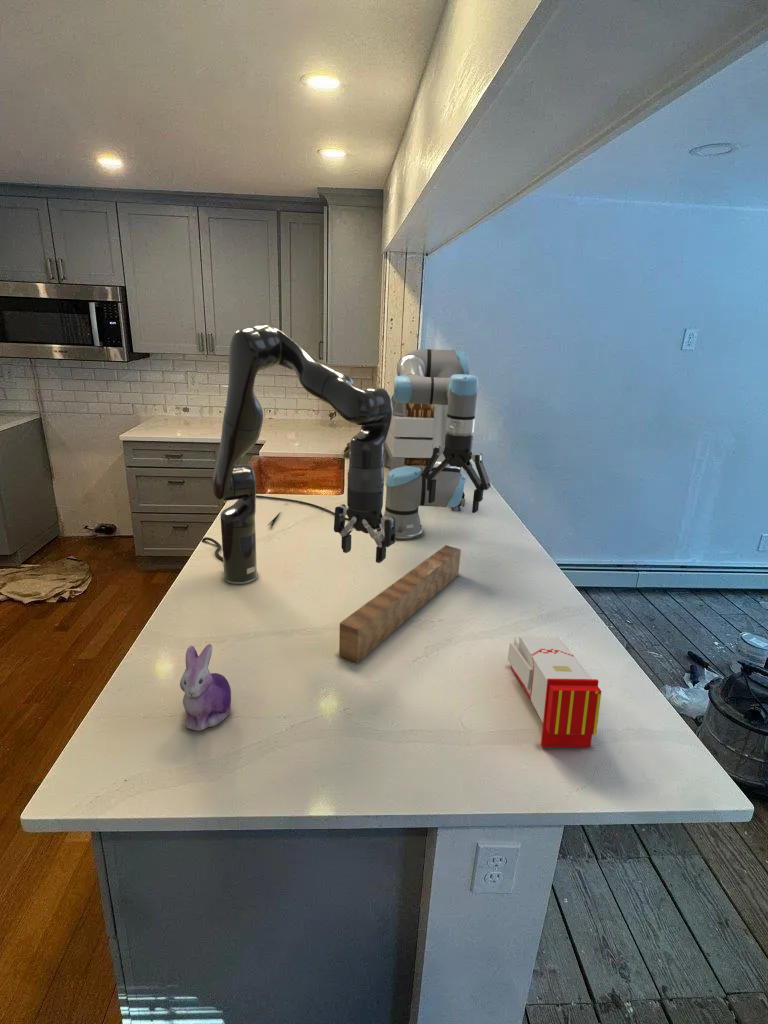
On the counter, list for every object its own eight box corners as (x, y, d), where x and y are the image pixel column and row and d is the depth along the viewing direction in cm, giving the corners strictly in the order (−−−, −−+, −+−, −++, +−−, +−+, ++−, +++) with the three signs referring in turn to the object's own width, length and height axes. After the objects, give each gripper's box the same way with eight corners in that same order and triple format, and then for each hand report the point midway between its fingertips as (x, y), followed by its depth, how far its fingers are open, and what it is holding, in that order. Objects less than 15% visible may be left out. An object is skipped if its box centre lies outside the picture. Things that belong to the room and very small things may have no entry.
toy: (555, 619, 129) (611, 687, 100) (550, 674, 132) (602, 754, 102) (502, 618, 128) (542, 685, 99) (498, 673, 131) (536, 754, 102)
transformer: (382, 463, 289) (386, 382, 275) (445, 464, 293) (451, 384, 279) (390, 482, 257) (394, 392, 243) (460, 483, 261) (468, 394, 247)
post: (443, 570, 173) (445, 545, 171) (458, 574, 171) (460, 549, 168) (339, 655, 129) (339, 622, 126) (357, 662, 127) (358, 629, 124)
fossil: (343, 440, 315) (365, 425, 310) (354, 454, 317) (375, 439, 312) (337, 454, 295) (359, 438, 290) (348, 468, 298) (371, 453, 293)
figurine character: (465, 515, 224) (460, 499, 237) (467, 498, 221) (462, 483, 234) (448, 515, 224) (444, 499, 237) (450, 498, 220) (445, 482, 234)
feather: (287, 506, 225) (290, 502, 224) (270, 530, 198) (272, 526, 198) (283, 504, 225) (286, 500, 224) (265, 527, 198) (268, 523, 197)
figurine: (187, 740, 102) (180, 669, 97) (178, 706, 110) (171, 639, 105) (239, 725, 106) (236, 656, 101) (227, 693, 115) (223, 628, 109)
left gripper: (327, 483, 118) (326, 554, 124) (385, 496, 111) (382, 571, 117) (347, 475, 124) (346, 543, 130) (404, 487, 117) (400, 559, 123)
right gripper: (412, 428, 157) (408, 501, 164) (497, 442, 145) (489, 519, 152) (425, 424, 163) (420, 494, 170) (508, 437, 151) (499, 512, 159)
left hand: (363, 556), depth 123 cm, fingers open, 8 cm apart
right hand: (452, 506), depth 161 cm, fingers open, 13 cm apart
